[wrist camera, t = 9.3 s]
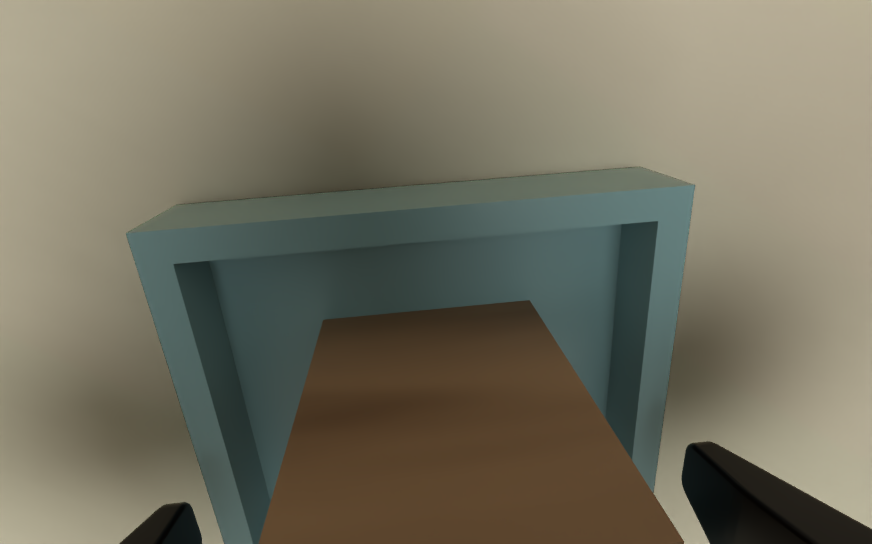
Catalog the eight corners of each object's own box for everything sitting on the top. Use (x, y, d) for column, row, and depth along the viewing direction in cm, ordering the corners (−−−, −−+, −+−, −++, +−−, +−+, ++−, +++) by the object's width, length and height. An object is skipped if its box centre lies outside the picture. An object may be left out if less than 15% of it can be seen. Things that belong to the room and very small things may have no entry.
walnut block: (528, 460, 12) (642, 774, 7) (350, 480, 12) (314, 827, 6) (529, 300, 11) (683, 541, 5) (323, 319, 10) (241, 597, 5)
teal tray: (640, 166, 10) (694, 185, 8) (609, 505, 14) (642, 570, 12) (176, 204, 10) (126, 233, 8) (268, 546, 13) (249, 621, 11)
